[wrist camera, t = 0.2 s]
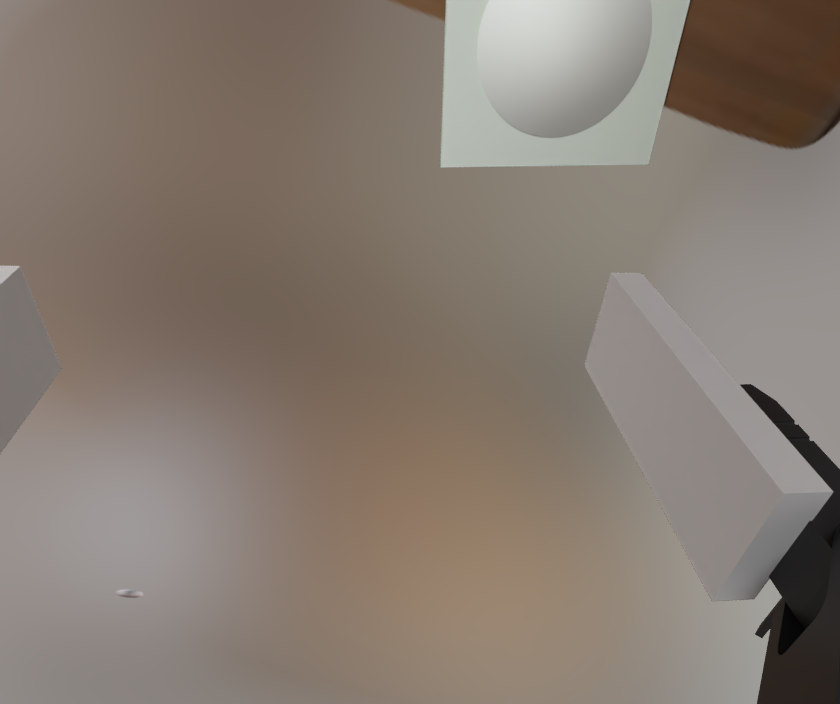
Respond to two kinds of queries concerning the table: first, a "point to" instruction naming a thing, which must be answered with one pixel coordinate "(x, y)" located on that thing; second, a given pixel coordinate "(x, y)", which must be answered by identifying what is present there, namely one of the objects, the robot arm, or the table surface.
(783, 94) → the table surface
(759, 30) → the table surface
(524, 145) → the rest mat
